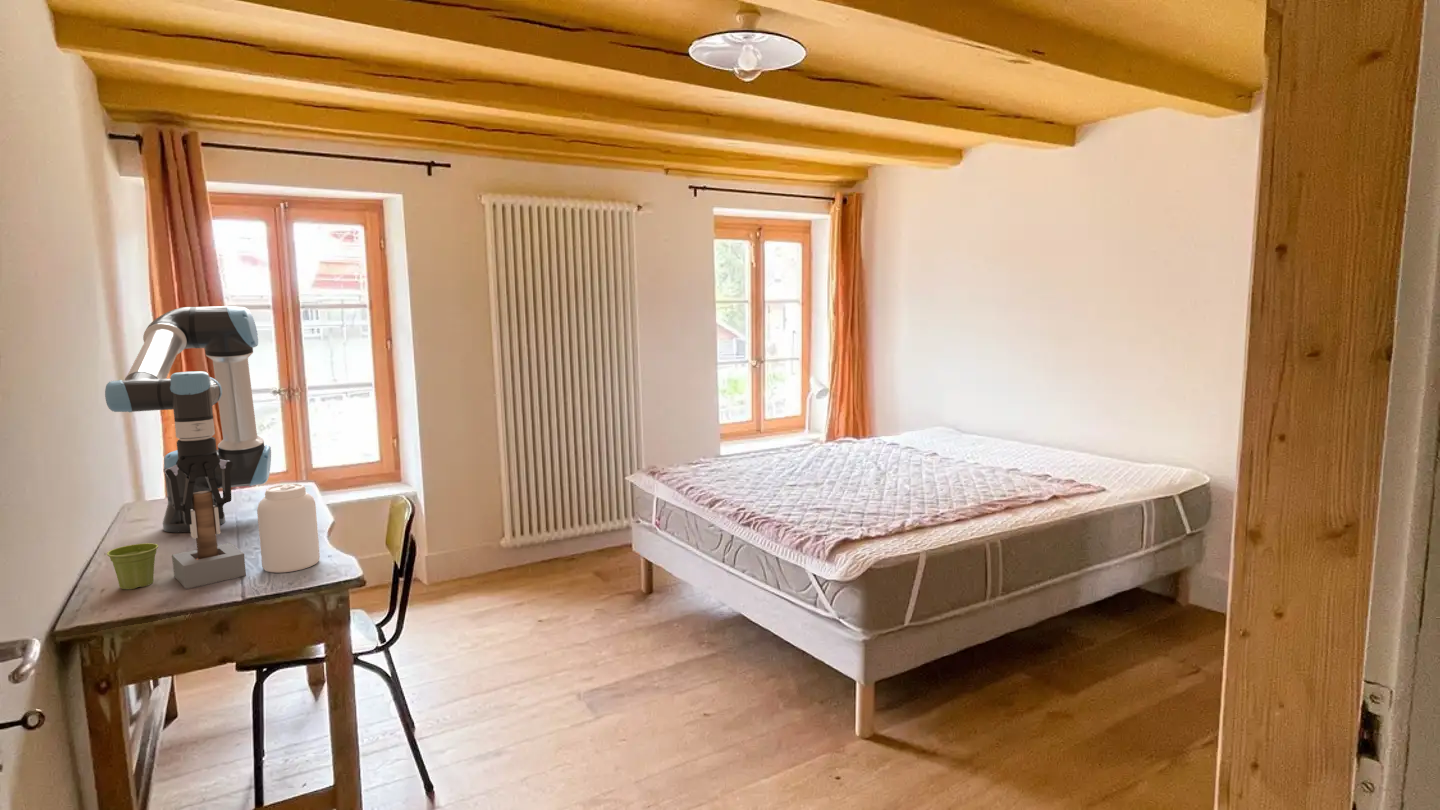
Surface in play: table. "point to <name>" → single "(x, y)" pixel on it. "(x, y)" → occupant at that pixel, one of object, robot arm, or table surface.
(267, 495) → the can
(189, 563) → the box
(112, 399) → the robot arm
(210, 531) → the dowel
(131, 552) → the plant pot
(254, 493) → the table surface
